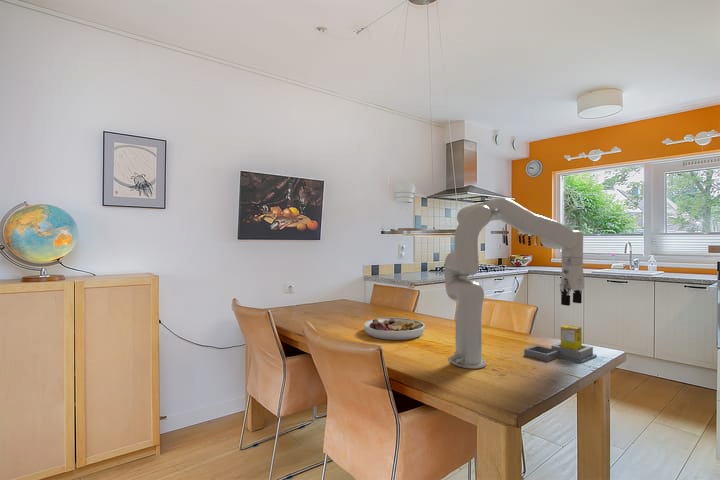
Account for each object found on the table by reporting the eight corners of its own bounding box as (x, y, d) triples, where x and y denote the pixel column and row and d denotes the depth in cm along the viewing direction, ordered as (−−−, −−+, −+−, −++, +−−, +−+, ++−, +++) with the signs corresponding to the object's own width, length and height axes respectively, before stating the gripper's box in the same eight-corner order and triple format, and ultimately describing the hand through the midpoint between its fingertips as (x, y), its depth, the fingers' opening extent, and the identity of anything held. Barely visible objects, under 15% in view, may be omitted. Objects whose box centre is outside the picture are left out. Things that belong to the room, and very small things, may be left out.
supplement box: (581, 353, 153) (581, 326, 153) (576, 357, 149) (576, 329, 149) (565, 350, 158) (565, 324, 157) (560, 353, 153) (560, 326, 153)
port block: (581, 363, 144) (581, 353, 144) (547, 354, 155) (547, 345, 155) (596, 356, 152) (596, 347, 152) (563, 349, 163) (563, 340, 163)
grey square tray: (547, 361, 146) (547, 355, 146) (524, 355, 154) (524, 349, 154) (560, 356, 152) (560, 350, 152) (536, 351, 160) (536, 345, 160)
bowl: (384, 324, 211) (384, 310, 211) (434, 332, 193) (434, 316, 193) (351, 335, 187) (351, 319, 187) (405, 345, 169) (405, 328, 169)
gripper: (571, 262, 145) (570, 307, 145) (591, 261, 155) (591, 303, 155) (551, 261, 151) (551, 304, 151) (572, 260, 161) (571, 300, 161)
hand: (571, 304), depth 153 cm, fingers open, 9 cm apart
